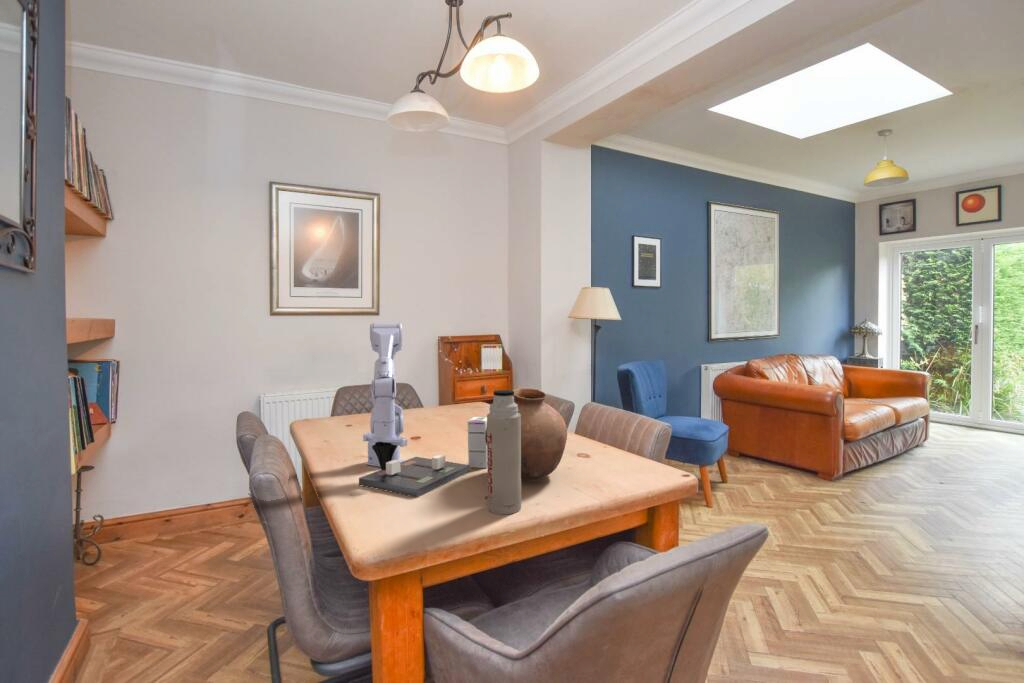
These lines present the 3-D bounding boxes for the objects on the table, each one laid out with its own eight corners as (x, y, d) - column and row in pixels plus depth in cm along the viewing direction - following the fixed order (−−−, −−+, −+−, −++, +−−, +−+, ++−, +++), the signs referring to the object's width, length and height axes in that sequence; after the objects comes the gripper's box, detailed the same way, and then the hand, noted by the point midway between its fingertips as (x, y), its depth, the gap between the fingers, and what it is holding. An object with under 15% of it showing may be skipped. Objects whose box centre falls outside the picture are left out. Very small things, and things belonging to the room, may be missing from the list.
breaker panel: (359, 485, 138) (358, 477, 138) (416, 462, 159) (416, 456, 159) (417, 497, 128) (417, 489, 128) (469, 471, 149) (469, 464, 149)
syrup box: (486, 468, 153) (486, 420, 152) (467, 467, 154) (467, 419, 153) (491, 463, 158) (490, 416, 158) (473, 462, 159) (472, 416, 159)
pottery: (507, 462, 159) (507, 382, 158) (578, 471, 149) (578, 386, 148) (470, 483, 139) (469, 392, 138) (549, 496, 129) (548, 397, 127)
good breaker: (432, 468, 145) (431, 457, 145) (439, 465, 148) (439, 454, 148) (437, 469, 144) (437, 458, 144) (445, 466, 147) (445, 455, 147)
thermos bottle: (488, 515, 117) (487, 393, 115) (487, 502, 125) (486, 388, 123) (523, 513, 117) (522, 392, 116) (519, 501, 125) (518, 388, 124)
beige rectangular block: (386, 473, 140) (385, 462, 140) (395, 470, 143) (394, 459, 143) (391, 474, 139) (391, 463, 139) (400, 471, 142) (400, 460, 142)
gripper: (354, 421, 142) (355, 469, 142) (394, 426, 135) (395, 476, 136) (372, 416, 148) (373, 462, 149) (412, 421, 141) (412, 469, 142)
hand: (385, 469), depth 142 cm, fingers closed
